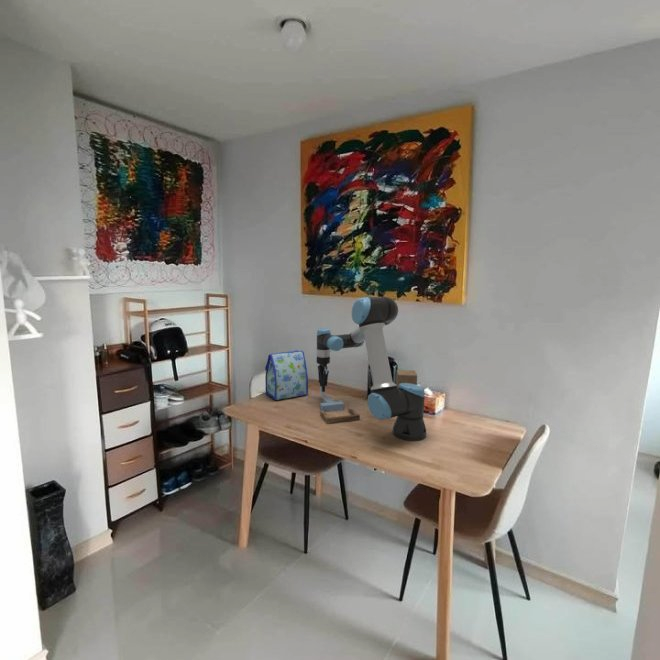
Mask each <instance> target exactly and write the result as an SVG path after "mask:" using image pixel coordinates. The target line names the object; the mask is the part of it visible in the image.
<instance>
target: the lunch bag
mask: <svg viewBox="0 0 660 660" xmlns="http://www.w3.org/2000/svg"><path fill="white" fill-rule="evenodd" d="M265 364H266V365H265V368H264V370H265V380H264V381H265V395H266V396H267V397H271V398H272V399H273V400H275V401H279V400H284V399H289V398H295V397H301V396H302V397H303V396H307V395H309V376H308V369H307V362H306V357H305V352H304V350H297V349H296V350H292V351H291V350H290V351H285V352H284V351H283V352H277V353H269V354H268V357H267V361H266V363H265Z"/></svg>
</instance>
